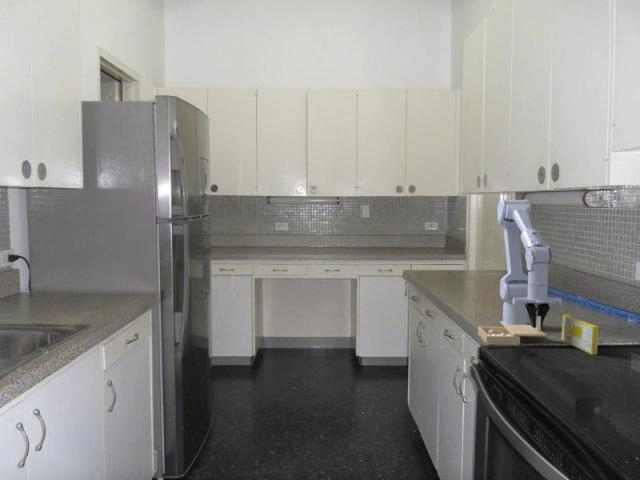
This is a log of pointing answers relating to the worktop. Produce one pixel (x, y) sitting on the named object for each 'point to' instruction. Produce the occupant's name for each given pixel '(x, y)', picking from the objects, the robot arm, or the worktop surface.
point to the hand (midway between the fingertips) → (536, 327)
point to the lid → (526, 329)
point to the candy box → (580, 334)
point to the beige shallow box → (497, 336)
